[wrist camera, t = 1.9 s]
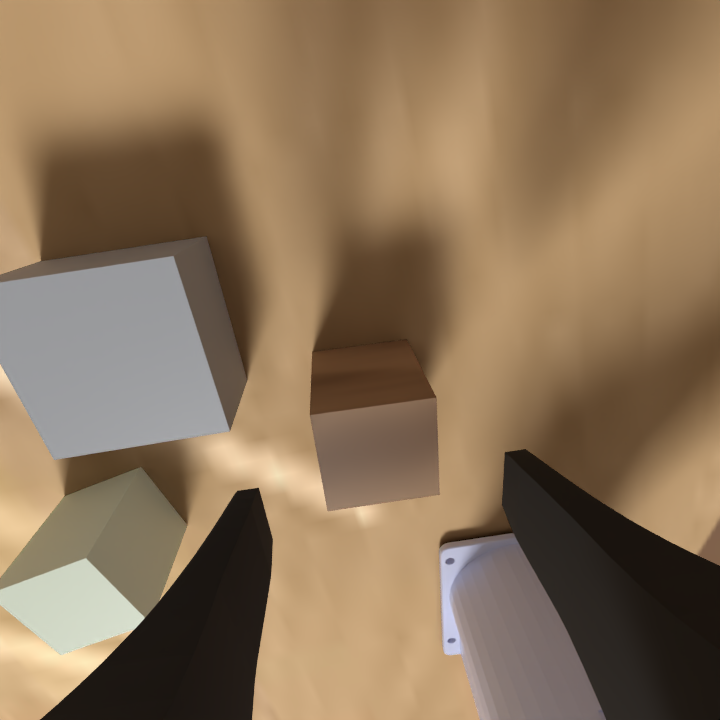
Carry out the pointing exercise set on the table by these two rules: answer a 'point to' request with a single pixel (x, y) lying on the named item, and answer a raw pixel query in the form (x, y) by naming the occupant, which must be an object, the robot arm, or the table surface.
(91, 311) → the grey base block
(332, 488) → the walnut block
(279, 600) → the table surface
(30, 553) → the sage block
